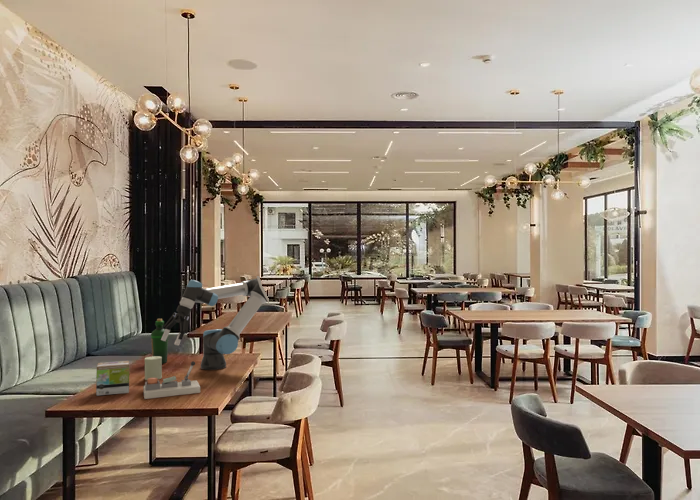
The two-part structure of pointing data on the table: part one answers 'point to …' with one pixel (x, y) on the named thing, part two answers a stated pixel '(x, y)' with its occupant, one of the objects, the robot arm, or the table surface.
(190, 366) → the toggle lever
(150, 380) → the push button
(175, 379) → the rocker switch
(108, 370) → the tea box
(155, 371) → the can
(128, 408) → the table surface
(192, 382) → the switch panel
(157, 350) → the bottle
